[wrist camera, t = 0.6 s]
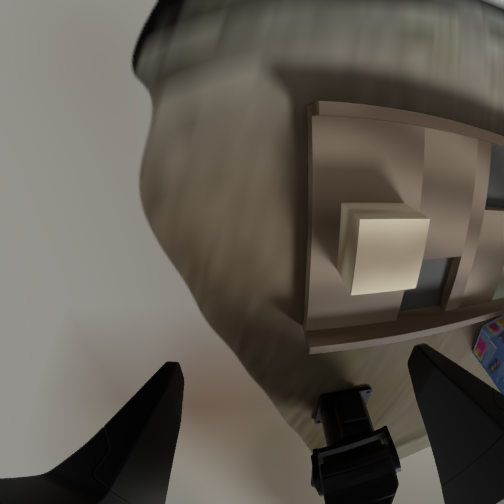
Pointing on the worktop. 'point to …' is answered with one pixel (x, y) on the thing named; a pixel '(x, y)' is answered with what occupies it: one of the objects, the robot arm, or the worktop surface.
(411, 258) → the maple block
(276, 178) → the worktop surface
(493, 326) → the ink cartridge box
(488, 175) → the trap box
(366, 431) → the robot arm
